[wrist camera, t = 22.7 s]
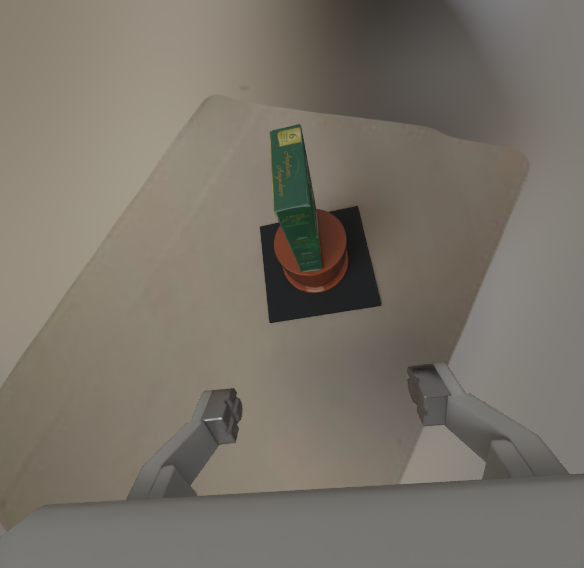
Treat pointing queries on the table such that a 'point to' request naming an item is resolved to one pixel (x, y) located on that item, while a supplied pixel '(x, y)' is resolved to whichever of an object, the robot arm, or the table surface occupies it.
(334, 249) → the stand
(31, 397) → the table surface
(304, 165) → the coffee box
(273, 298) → the mat
